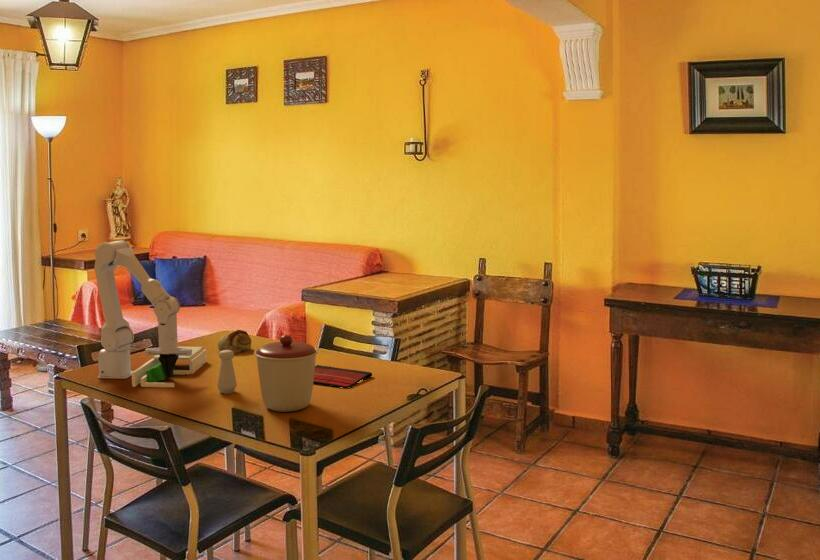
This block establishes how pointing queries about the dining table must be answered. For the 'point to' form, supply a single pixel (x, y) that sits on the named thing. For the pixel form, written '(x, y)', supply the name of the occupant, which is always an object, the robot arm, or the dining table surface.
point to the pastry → (235, 341)
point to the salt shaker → (226, 373)
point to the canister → (286, 374)
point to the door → (194, 351)
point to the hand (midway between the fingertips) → (169, 377)
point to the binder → (338, 376)
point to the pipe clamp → (156, 373)
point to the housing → (194, 365)
